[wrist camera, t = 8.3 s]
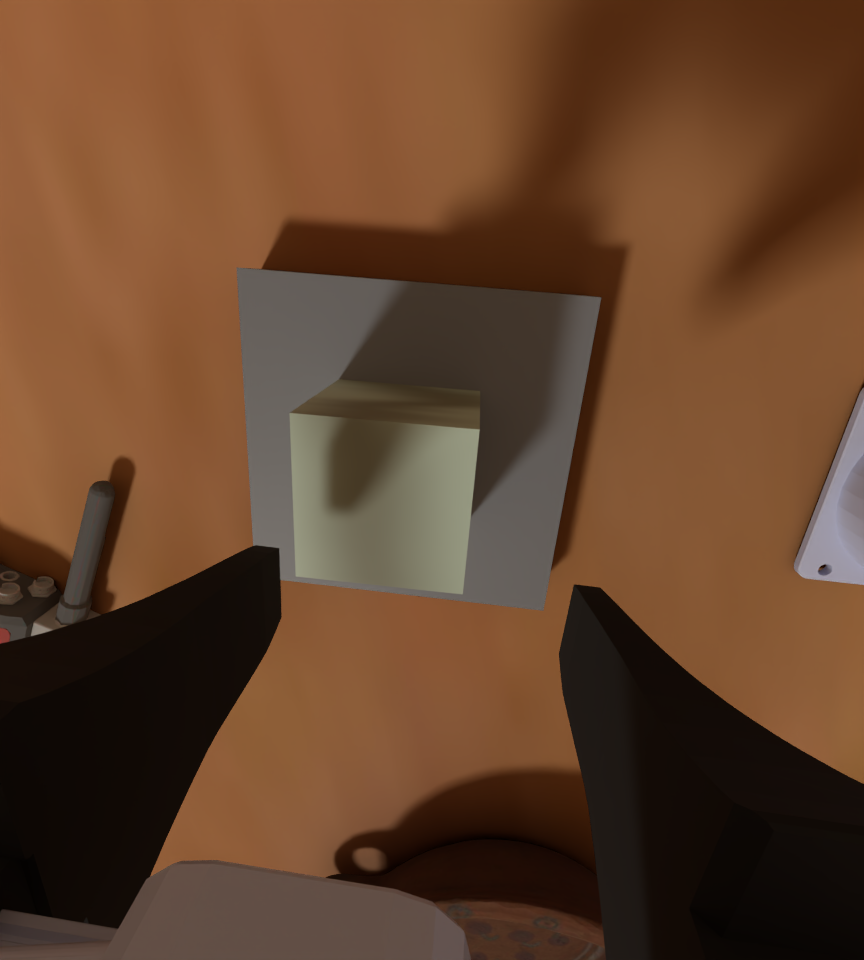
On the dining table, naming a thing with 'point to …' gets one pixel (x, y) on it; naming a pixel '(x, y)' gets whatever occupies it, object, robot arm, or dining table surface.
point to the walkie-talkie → (37, 603)
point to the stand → (432, 363)
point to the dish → (507, 898)
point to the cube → (384, 484)
